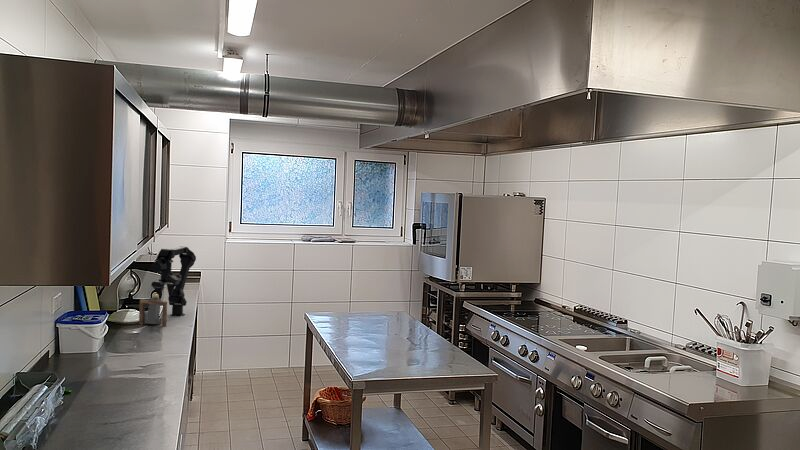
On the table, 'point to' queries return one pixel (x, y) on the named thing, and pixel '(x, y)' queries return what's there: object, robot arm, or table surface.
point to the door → (146, 315)
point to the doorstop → (154, 311)
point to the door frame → (142, 303)
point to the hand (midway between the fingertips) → (165, 297)
